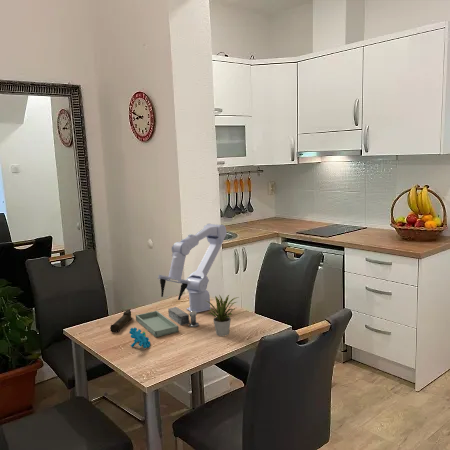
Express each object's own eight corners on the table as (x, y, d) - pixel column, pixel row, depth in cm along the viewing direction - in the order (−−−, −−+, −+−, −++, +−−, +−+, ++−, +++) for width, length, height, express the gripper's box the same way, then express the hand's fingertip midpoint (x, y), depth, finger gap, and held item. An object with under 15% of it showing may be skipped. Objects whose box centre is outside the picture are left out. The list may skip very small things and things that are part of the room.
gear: (146, 348, 172) (127, 329, 173) (135, 359, 172) (117, 340, 173) (155, 340, 182) (138, 323, 184) (146, 351, 183) (128, 333, 184)
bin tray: (157, 315, 212) (156, 310, 212) (178, 331, 191) (178, 326, 191) (136, 320, 207) (135, 315, 207) (155, 337, 186) (155, 331, 186)
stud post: (196, 322, 201) (195, 308, 200) (200, 325, 197) (199, 310, 196) (187, 325, 198) (186, 310, 197) (191, 328, 195) (190, 313, 194)
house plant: (250, 332, 187) (248, 294, 184) (227, 343, 177) (225, 303, 174) (224, 325, 196) (222, 288, 194) (201, 335, 186) (199, 296, 184)
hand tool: (119, 333, 193) (118, 323, 192) (110, 333, 194) (109, 322, 193) (136, 318, 211) (135, 308, 211) (128, 317, 212) (127, 308, 212)
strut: (176, 315, 212) (176, 306, 211) (189, 323, 200) (188, 314, 200) (168, 316, 210) (168, 308, 209) (180, 325, 198) (180, 316, 198)
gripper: (161, 264, 200) (154, 295, 198) (193, 271, 202) (187, 301, 200) (160, 265, 207) (154, 294, 205) (191, 271, 209) (185, 301, 207)
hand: (170, 298), depth 203 cm, fingers open, 7 cm apart
